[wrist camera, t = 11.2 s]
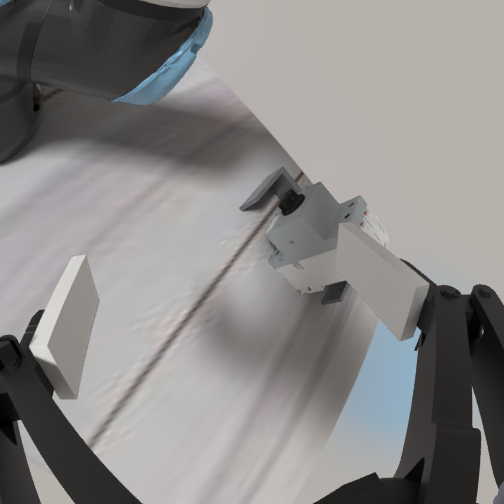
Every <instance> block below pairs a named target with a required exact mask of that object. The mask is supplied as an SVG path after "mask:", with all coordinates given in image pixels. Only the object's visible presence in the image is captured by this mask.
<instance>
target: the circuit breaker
mask: <svg viewBox="0 0 504 504" xmlns="http://www.w3.org/2000/svg"><path fill="white" fill-rule="evenodd" d="M278 207H279V208H280V209H279V210H278V212H277V214H276V217H274V218H273V220H272V222H271V223H270V225H269V227H268V228H267V230H266V231H265V233H264V235H265V236H266V237H267V238H268V239H269V240H270V241H271V242H272V243H273V244H274V246H275V247H276V249H275V251H274V252H273V254H272V256H271V258H270V259H269V261H268V262H269V263H270V264H271V265H272V266H273V267H274V268H275V269H276V270H277V271H278V272H279V273H280V274H281V275H282V276H283V277H284V278H285V279H286V280H287V281H288V282H289V283H290V284H291V285H292V286H293V287H294V288H295V289H296V290H300V291H301V293H300V294H301V295H304V293H306V292H308V293H309V294H310V293H314V292H319V291H323V290H324V287H325V285H329V284H333V283H337V282H341V281H345V279H344V278H343V277H342V276H341V274H340V273H339V272H338V271H337V270H336V269H335V261H336V251H337V241H338V231H339V223H346V222H352V223H353V224H355V225H356V226H357V227H359V228H360V229H361V230H363V231H364V232H365V233H367V234H368V235H369V236H371V237H372V238H373V239H375V240H376V241H377V242H378V243H380V244H381V245H382V246H384V247H385V248H386V249H387V247H388V243H389V238H390V235H387V233H386V229H385V228H384V227H383V225H382V224H381V222H380V221H379V220H378V218H377V217H376V215H375V214H374V213H373V211H372V210H371V209H370V208H369V206H368V205H367V203H366V202H365V201H364V199H363V198H362V197H361V196H358V197H355V198H353V199H351V200H349V201H346V202H344V203H342V204H339V203H338V202H337V201H336V200H335V199H334V197H333V196H332V195H331V194H330V193H329V191H328V190H327V189H326V188H325V187H324V186H323V184H322V183H321V182H318V183H316V184H314V185H312V186H310V187H308V186H306V187H304V188H303V190H302V191H301V192H299V193H296V192H295V191H294V190H293V189H290V190H289V191H288V192H287V193H286V196H285V197H284V199H283V200H282V201H281V202H280V204H279V206H278ZM308 287H310V288H311V289H312V290H309V289H308Z"/></svg>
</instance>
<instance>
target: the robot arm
mask: <svg viewBox="0 0 504 504" xmlns="http://www.w3.org/2000/svg"><path fill="white" fill-rule="evenodd" d="M210 1H211V0H0V163H1V162H3V161H5V160H7V159H9V158H11V157H12V156H14V155H15V154H16V153H18V152H19V151H20V150H21V149H22V148H23V147H24V146H25V145H26V144H27V143H28V142H29V141H30V140H31V138H32V137H33V135H34V134H35V132H36V130H37V128H38V126H39V123H40V120H41V114H42V106H43V94H42V89H41V86H40V85H44V86H49V87H55V88H59V89H64V90H69V91H74V92H78V93H83V94H87V95H91V96H95V97H99V98H103V99H106V100H108V101H110V102H111V101H113V102H119V101H120V102H125V103H130V104H135V105H149V104H152V103H154V102H156V101H158V100H160V99H161V98H163V97H164V96H165V95H166V94H167V93H169V92H170V91H171V90H172V89H173V88H174V87H175V85H176V84H177V83H178V82H179V81H180V80H181V78H182V77H183V76H184V75H185V73H186V72H187V71H188V69H189V68H190V66H191V65H192V64H193V62H194V61H195V59H196V54H197V51H198V50H199V49H200V48H201V47H202V46H203V45H204V43H205V41H206V40H207V38H208V36H209V33H210V30H211V28H212V24H213V16H212V12H211V11H210V10H209V9H208V7H207V5H208V3H209V2H210ZM335 269H336V270H337V271H338V272H339V273H340V274H341V276H342V277H343V278H344V279H345V280H346V281H347V282H348V283H349V284H350V285H351V287H352V288H353V289H354V290H355V291H356V292H357V293H358V294H359V296H360V297H361V298H362V299H363V300H364V301H365V302H366V303H367V305H368V306H369V307H370V308H371V309H372V310H373V311H374V312H375V314H376V315H377V316H378V317H379V318H380V319H381V321H382V322H383V323H384V324H385V325H386V326H387V327H388V329H389V330H390V331H391V332H392V333H393V334H394V335H395V337H396V338H397V339H398V340H399V341H403V340H406V339H409V338H411V337H413V335H414V332H415V329H416V327H418V328H419V329H420V330H421V334H420V337H419V339H418V342H417V345H416V347H415V351H417V349H418V357H417V367H416V376H415V384H414V391H413V398H412V405H411V411H410V417H409V423H408V428H407V433H406V438H405V443H404V447H403V452H402V456H401V461H400V464H399V466H398V469H397V471H396V473H395V475H394V477H393V478H380V479H379V477H378V476H377V474H376V473H375V472H374V473H372V474H370V475H367V476H365V477H363V478H360V479H358V480H355V481H352V482H350V483H347V484H345V485H343V486H341V487H340V488H338V489H336V490H335V491H334V492H332V493H330V494H329V495H327V496H325V497H324V498H322V499H320V500H319V501H317V502H315V503H313V504H478V503H476V497H477V490H478V481H479V470H480V455H481V432H480V430H479V429H477V428H473V427H472V387H473V390H474V394H475V397H476V400H477V404H478V408H479V412H480V415H481V419H482V423H483V428H484V432H485V436H486V441H487V445H488V450H489V456H490V461H491V466H492V470H493V474H494V477H495V480H496V484H497V486H498V489H499V491H498V495H497V496H496V497H495V498H494V500H493V504H504V305H503V304H502V302H501V300H500V299H499V297H498V295H497V294H496V293H495V291H494V290H493V289H491V288H490V287H489V286H486V285H481V284H479V285H475V286H474V287H473V290H472V292H471V294H470V295H461V293H460V292H459V291H458V290H457V289H455V288H453V287H451V286H448V285H441V286H437V285H436V284H435V283H434V282H432V281H431V280H430V279H429V278H428V277H426V276H425V275H424V274H423V273H422V274H421V272H420V271H419V270H418V269H416V268H415V267H414V266H413V265H411V264H410V263H409V262H407V261H405V260H402V259H399V258H397V257H396V256H395V255H394V254H392V253H391V252H390V251H389V250H387V249H386V248H385V247H384V246H382V245H381V244H380V243H378V242H377V241H376V240H375V239H373V238H372V237H371V236H369V235H368V234H367V233H365V232H364V231H363V230H361V229H360V228H359V227H357V226H356V225H355V224H353V223H352V222H346V223H339V231H338V241H337V251H336V261H335ZM99 302H100V300H99V297H98V294H97V291H96V288H95V284H94V281H93V278H92V274H91V271H90V267H89V263H88V260H87V256H86V255H79V256H73V257H72V258H71V260H70V262H69V264H68V266H67V268H66V269H65V271H64V273H63V275H62V277H61V279H60V281H59V283H58V285H57V287H56V289H55V291H54V293H53V295H52V297H51V299H50V301H49V303H48V305H47V307H46V309H45V310H39V311H38V312H37V313H36V314H35V315H34V316H33V317H32V319H31V321H30V323H29V325H28V327H27V329H26V331H25V334H24V336H23V338H22V340H21V342H20V344H19V342H18V340H17V338H16V337H15V336H13V335H4V336H2V337H0V504H41V502H40V500H39V497H38V494H37V491H36V488H35V485H34V482H33V480H32V476H31V473H30V470H29V467H28V463H27V459H26V456H25V452H24V448H23V444H22V440H21V436H20V432H19V427H18V422H17V420H22V422H23V424H24V426H25V428H26V430H27V432H28V433H29V435H30V437H31V439H32V440H33V442H34V444H35V446H36V447H37V449H38V451H39V452H40V454H41V455H42V457H43V459H44V460H45V462H46V463H47V465H48V466H49V468H50V469H51V471H52V472H53V474H54V475H55V477H56V478H57V480H58V481H59V483H60V484H61V485H62V487H63V488H64V489H65V491H66V492H67V494H68V495H69V496H70V497H71V499H72V500H73V501H74V503H75V504H142V503H141V502H140V501H139V500H138V499H137V498H136V497H135V496H134V495H133V494H132V493H131V492H130V491H129V490H128V489H127V488H126V487H125V486H124V485H123V484H122V483H121V482H120V481H119V480H118V479H117V478H116V477H115V476H114V475H113V474H112V473H111V472H110V471H109V470H108V469H107V467H106V466H105V465H104V464H103V463H102V462H101V461H100V460H99V458H98V457H97V456H96V455H95V454H94V453H93V451H92V450H91V449H90V448H89V447H88V445H87V444H86V443H85V442H84V441H83V439H82V438H81V437H80V436H79V434H78V433H77V432H76V430H75V429H74V428H73V427H72V425H71V424H70V423H69V421H68V420H67V418H66V417H65V416H64V414H63V413H62V412H61V410H60V409H59V407H58V406H57V404H56V403H55V402H54V400H53V399H52V396H53V392H54V390H55V392H56V394H57V395H58V397H59V398H60V399H77V397H78V391H79V386H80V381H81V376H82V371H83V366H84V361H85V357H86V352H87V348H88V344H89V340H90V336H91V332H92V328H93V324H94V320H95V316H96V312H97V309H98V305H99ZM483 329H484V332H483V334H482V331H483Z"/></svg>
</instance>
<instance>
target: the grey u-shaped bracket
mask: <svg viewBox="0 0 504 504" xmlns="http://www.w3.org/2000/svg"><path fill="white" fill-rule="evenodd" d="M269 188H271V189H272V190H273V192H274V193H275V194H276V195H277V196H278V197H279V199H280V200H281V201H282V200H283V199H284V197H285V196H286V193H287V192H288V191H289V190H290V189H293V190H294V191H295V192H296V193H299V192H301V191H302V189H301V188H300V187H299V185H298V184H297V183H296V182H295V181H294V179H293V178H292V177H291V176H290V174H289V173H288V172H287V171H286V170H285V168H284V167H282V168H280V169H279V170H277V171H276V172H274V173H273V174H271V175H269V176H268V177H267V178H266V179H265V180H264V181H263V182H262V183H261V184H260V186H259V187H258V188H257V189H256V190H255V191H254V192H253V193H252V194H251V195H250V197H249V198H248V199H247V200H246V201H245V202H244V203H243V204H242V206H241V207H240V210H241V211H243V210H244V209H246V208H248V207H249V206H251V205H253V204H254V203H256V202H258V201H259V200H260V198H261V197H262V196H263V195H264V194H265V193H266V191H267V190H268V189H269ZM348 286H349V283H348V282H347V281H346V280H345V281H341V282H337V283H333V284H330V286H329V288H328V290H327V292H326V295H325V297H324V299H323V301H322V303H323V304H324V305H325V304H330V303H335V302H341V301H342V300H343V298H344V295H345V293H346V291H347V288H348Z"/></svg>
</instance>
